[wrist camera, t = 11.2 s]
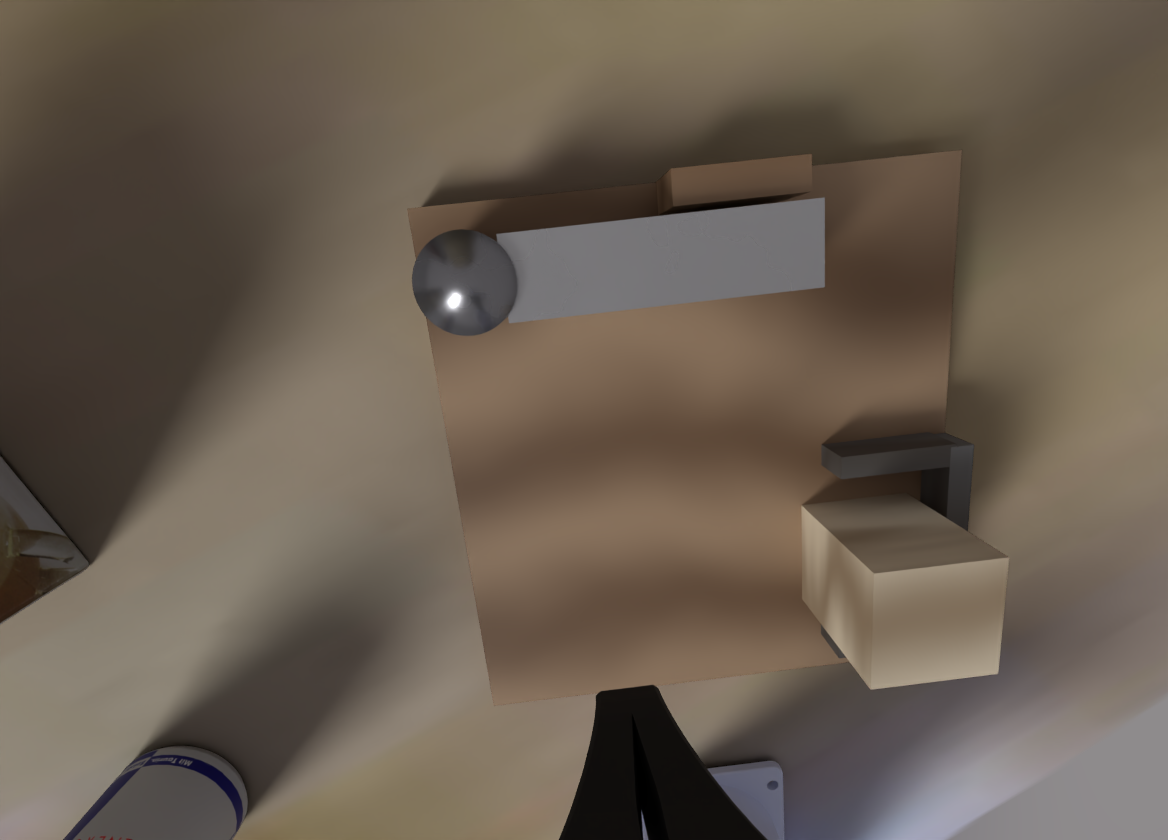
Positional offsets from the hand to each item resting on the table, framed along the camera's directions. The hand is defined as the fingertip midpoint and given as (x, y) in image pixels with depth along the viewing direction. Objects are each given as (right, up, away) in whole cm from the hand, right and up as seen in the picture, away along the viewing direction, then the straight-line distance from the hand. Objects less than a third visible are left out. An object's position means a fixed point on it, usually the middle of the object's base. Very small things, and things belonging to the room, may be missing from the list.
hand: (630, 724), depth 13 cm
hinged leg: (0, +12, +6) cm, 13 cm away
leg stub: (+9, +2, +9) cm, 13 cm away
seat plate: (+3, +6, +9) cm, 11 cm away
